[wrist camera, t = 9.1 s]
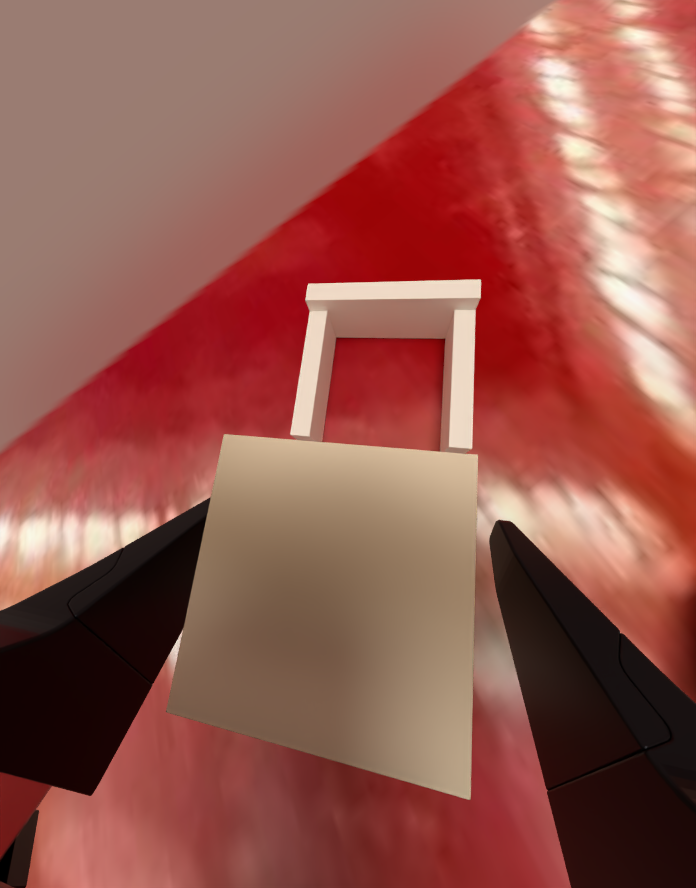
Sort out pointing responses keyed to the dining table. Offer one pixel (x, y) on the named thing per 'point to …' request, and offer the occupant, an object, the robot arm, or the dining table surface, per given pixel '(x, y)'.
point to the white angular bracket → (391, 316)
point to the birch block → (338, 606)
